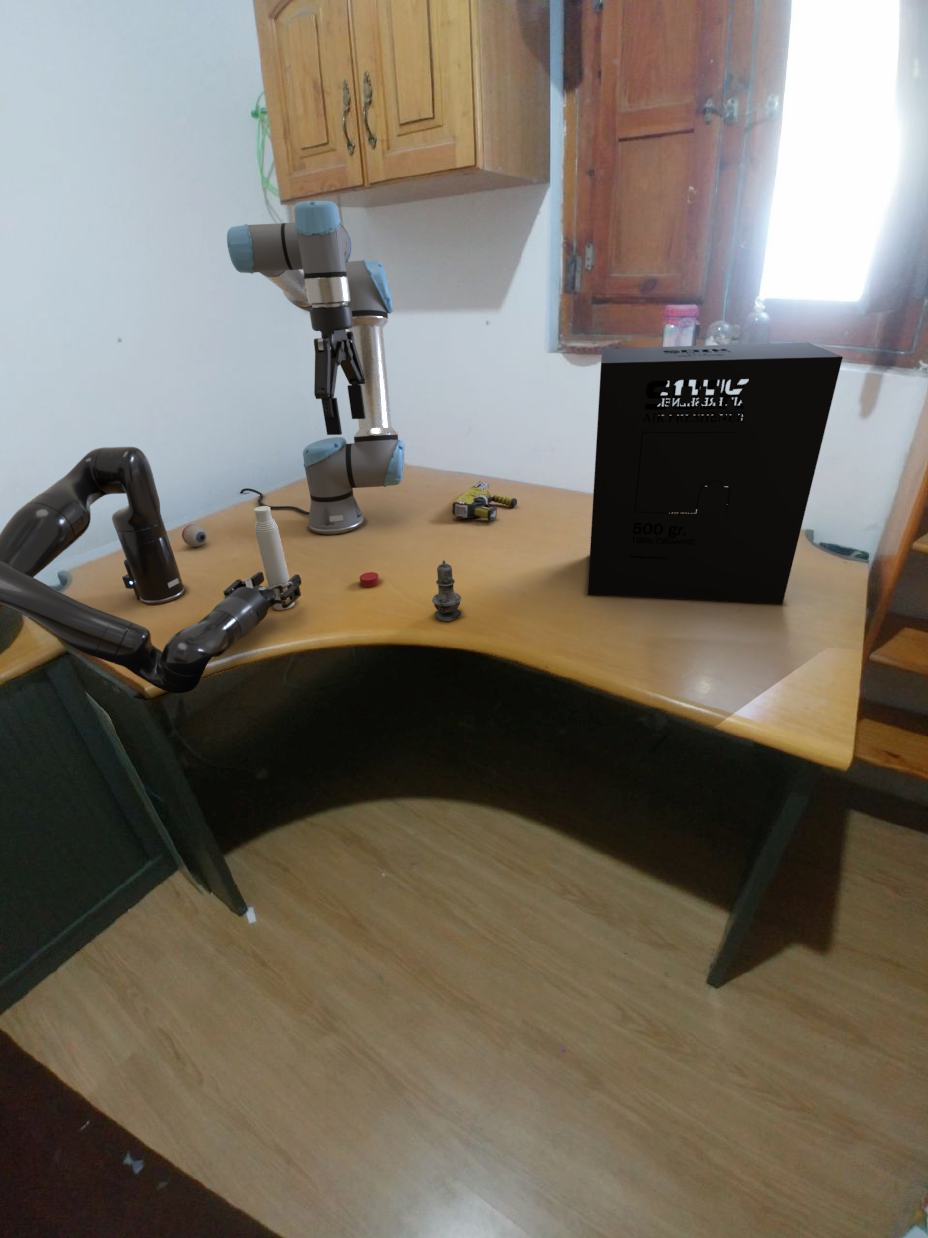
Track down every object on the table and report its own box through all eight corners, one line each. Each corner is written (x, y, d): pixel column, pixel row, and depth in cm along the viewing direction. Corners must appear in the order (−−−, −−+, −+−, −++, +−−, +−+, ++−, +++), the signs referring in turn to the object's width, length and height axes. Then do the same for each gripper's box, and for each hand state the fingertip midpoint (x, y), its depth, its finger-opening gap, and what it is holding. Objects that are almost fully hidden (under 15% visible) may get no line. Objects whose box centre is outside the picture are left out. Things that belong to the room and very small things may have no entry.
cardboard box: (760, 561, 136) (807, 342, 113) (782, 604, 118) (842, 356, 96) (590, 554, 143) (602, 348, 121) (587, 594, 126) (601, 362, 104)
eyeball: (196, 552, 157) (189, 530, 154) (181, 548, 160) (174, 526, 157) (215, 543, 161) (209, 522, 158) (200, 540, 165) (193, 519, 162)
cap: (380, 579, 138) (379, 571, 137) (377, 587, 134) (376, 580, 134) (362, 579, 138) (361, 572, 137) (359, 587, 135) (358, 580, 134)
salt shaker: (459, 622, 119) (455, 567, 113) (430, 620, 120) (425, 566, 114) (464, 608, 124) (461, 554, 118) (437, 606, 125) (432, 553, 119)
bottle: (292, 609, 128) (271, 511, 117) (271, 610, 127) (248, 513, 117) (296, 599, 131) (275, 503, 121) (275, 601, 131) (253, 505, 120)
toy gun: (525, 486, 181) (478, 479, 184) (503, 510, 160) (450, 501, 164) (523, 501, 183) (477, 494, 187) (501, 526, 163) (450, 518, 167)
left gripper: (210, 628, 117) (254, 590, 130) (275, 635, 114) (314, 595, 127) (199, 594, 113) (246, 558, 127) (267, 600, 110) (307, 562, 123)
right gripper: (335, 302, 120) (351, 412, 130) (279, 310, 99) (303, 442, 109) (371, 300, 118) (384, 412, 129) (322, 308, 97) (342, 441, 108)
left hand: (280, 577), depth 127 cm, fingers open, 8 cm apart
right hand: (347, 426), depth 119 cm, fingers open, 13 cm apart
